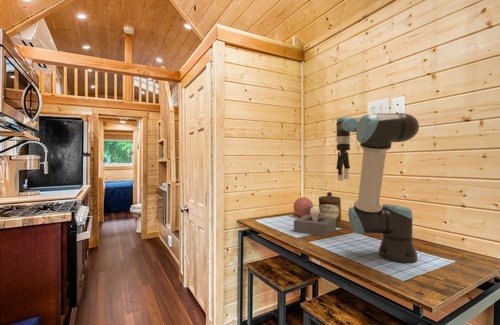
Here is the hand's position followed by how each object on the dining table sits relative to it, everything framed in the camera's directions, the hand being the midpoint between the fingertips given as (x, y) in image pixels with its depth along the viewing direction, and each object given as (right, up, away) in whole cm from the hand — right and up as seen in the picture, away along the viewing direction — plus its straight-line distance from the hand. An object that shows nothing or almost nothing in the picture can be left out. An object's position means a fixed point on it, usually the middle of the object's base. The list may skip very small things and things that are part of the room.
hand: (343, 179), depth 153 cm
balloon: (-13, -33, +45) cm, 57 cm away
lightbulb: (-15, -29, +8) cm, 33 cm away
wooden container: (0, -33, +26) cm, 42 cm away
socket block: (-15, -32, +8) cm, 37 cm away
